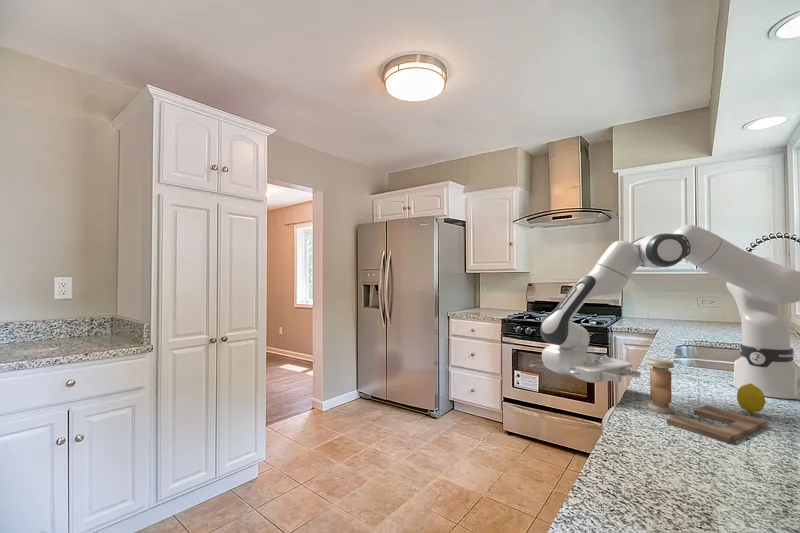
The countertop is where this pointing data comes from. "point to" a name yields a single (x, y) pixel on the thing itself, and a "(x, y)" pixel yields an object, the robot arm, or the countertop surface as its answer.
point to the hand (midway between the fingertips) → (629, 376)
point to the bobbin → (660, 386)
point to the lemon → (750, 398)
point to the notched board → (729, 433)
